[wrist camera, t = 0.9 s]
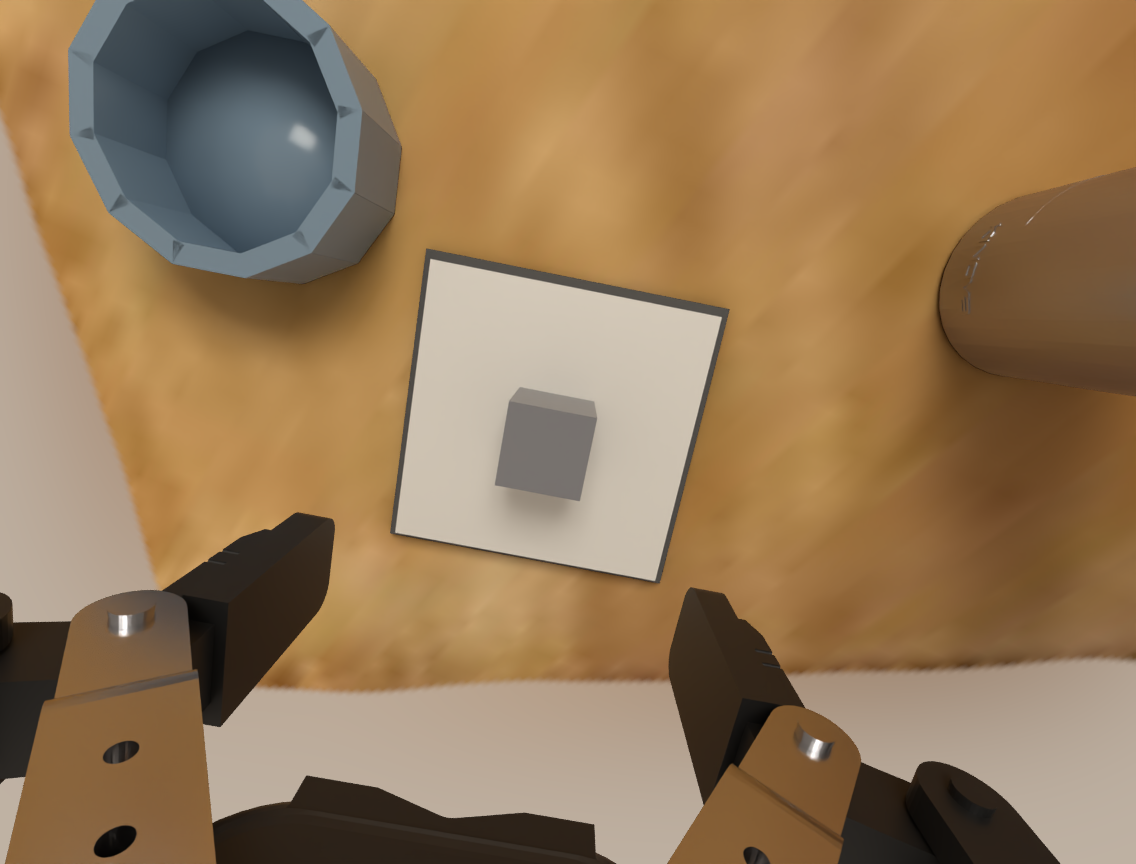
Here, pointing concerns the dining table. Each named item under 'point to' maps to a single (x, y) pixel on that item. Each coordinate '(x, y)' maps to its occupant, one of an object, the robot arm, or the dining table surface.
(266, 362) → the dining table surface
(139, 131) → the bowl
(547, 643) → the dining table surface
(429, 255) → the mat
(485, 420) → the lid
